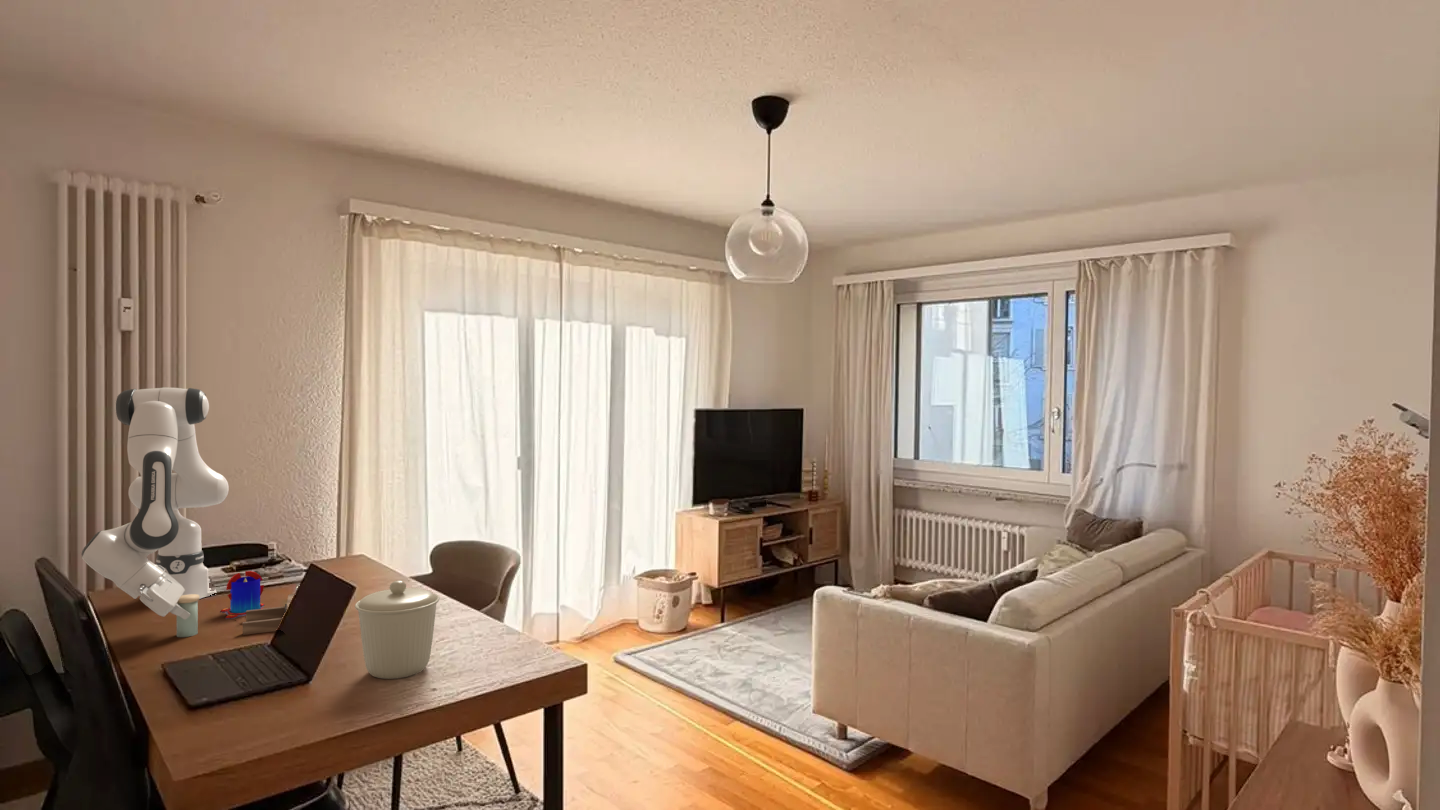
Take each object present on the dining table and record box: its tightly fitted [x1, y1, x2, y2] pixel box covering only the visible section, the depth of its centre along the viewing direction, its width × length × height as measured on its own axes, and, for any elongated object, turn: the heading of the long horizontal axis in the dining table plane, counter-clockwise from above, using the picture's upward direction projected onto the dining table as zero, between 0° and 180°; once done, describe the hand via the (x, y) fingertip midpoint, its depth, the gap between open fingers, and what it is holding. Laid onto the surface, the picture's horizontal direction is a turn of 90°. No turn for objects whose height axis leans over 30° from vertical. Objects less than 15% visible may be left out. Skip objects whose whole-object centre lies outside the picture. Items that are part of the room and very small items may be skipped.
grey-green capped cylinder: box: [176, 594, 200, 638], centre depth 206 cm, size 5×5×10 cm
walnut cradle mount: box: [242, 593, 294, 636], centre depth 215 cm, size 16×12×6 cm
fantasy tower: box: [219, 570, 265, 620], centre depth 227 cm, size 12×12×12 cm
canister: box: [354, 580, 440, 680], centre depth 180 cm, size 18×18×21 cm
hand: (190, 613), depth 206 cm, fingers closed on grey-green capped cylinder, 5 cm apart
